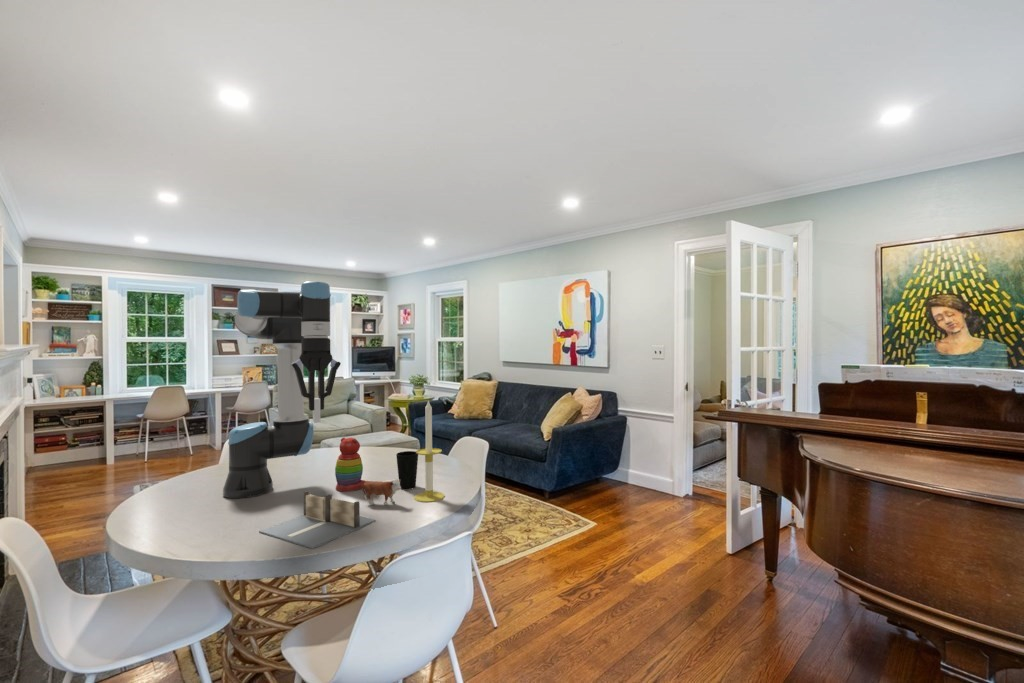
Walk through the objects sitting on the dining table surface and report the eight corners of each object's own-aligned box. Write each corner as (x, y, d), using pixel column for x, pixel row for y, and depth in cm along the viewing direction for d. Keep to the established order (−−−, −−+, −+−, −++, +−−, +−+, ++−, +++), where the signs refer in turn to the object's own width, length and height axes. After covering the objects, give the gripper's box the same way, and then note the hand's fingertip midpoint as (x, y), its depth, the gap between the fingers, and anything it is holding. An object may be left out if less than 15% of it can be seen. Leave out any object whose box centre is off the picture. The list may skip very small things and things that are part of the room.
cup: (423, 486, 169) (422, 452, 169) (407, 491, 163) (407, 457, 163) (407, 482, 173) (407, 450, 173) (391, 488, 167) (391, 454, 167)
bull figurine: (399, 507, 147) (399, 481, 147) (360, 504, 150) (359, 479, 150) (405, 502, 151) (405, 477, 151) (367, 500, 154) (366, 475, 154)
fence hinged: (330, 520, 134) (330, 497, 134) (334, 519, 135) (334, 496, 135) (356, 527, 129) (356, 503, 129) (360, 526, 130) (360, 502, 130)
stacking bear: (371, 485, 170) (371, 436, 170) (351, 493, 161) (350, 441, 161) (348, 482, 175) (348, 434, 175) (327, 489, 166) (327, 439, 166)
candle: (443, 501, 152) (442, 400, 152) (412, 502, 151) (411, 401, 151) (445, 492, 162) (444, 397, 162) (415, 493, 161) (415, 398, 161)
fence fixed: (302, 515, 140) (301, 490, 140) (307, 513, 141) (307, 489, 141) (328, 522, 134) (328, 496, 134) (333, 520, 136) (333, 494, 136)
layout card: (259, 532, 128) (259, 530, 128) (324, 508, 147) (324, 507, 147) (312, 549, 117) (312, 547, 117) (375, 521, 136) (375, 519, 136)
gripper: (292, 337, 125) (293, 426, 125) (343, 337, 132) (344, 421, 132) (288, 337, 131) (289, 422, 131) (337, 337, 139) (337, 418, 138)
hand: (316, 421), depth 132 cm, fingers closed
